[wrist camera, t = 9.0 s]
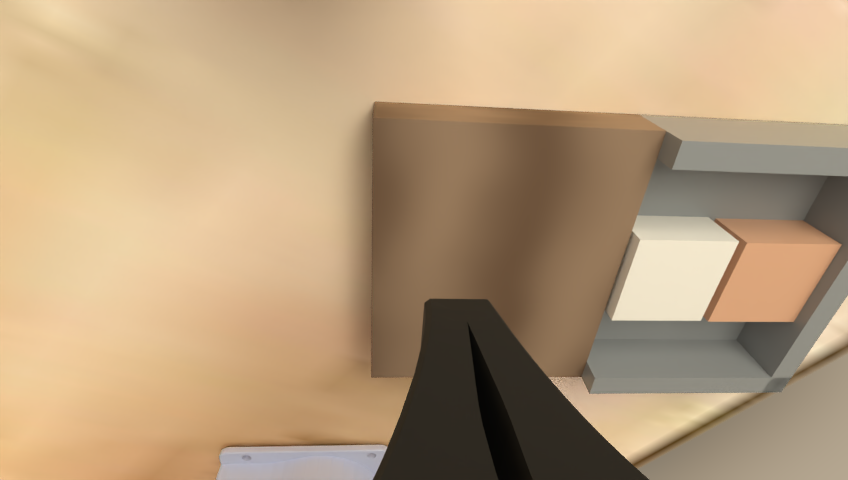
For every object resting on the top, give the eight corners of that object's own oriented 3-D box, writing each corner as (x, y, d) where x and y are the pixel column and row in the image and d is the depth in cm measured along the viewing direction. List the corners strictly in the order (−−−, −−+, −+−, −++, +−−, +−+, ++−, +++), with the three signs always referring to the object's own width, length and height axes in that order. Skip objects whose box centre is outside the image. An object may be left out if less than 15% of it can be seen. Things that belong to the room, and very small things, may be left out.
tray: (567, 346, 23) (589, 393, 21) (639, 114, 17) (682, 140, 15) (739, 347, 24) (781, 392, 22) (866, 125, 18) (945, 152, 16)
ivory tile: (593, 291, 21) (611, 320, 19) (617, 215, 19) (640, 239, 17) (675, 292, 21) (700, 320, 20) (708, 217, 19) (739, 241, 18)
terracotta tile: (682, 293, 21) (708, 321, 20) (715, 218, 19) (747, 242, 18) (761, 293, 22) (793, 321, 20) (802, 220, 20) (842, 244, 18)
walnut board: (372, 346, 23) (371, 377, 21) (374, 101, 16) (373, 117, 15) (567, 346, 23) (581, 376, 22) (639, 114, 17) (666, 131, 16)
